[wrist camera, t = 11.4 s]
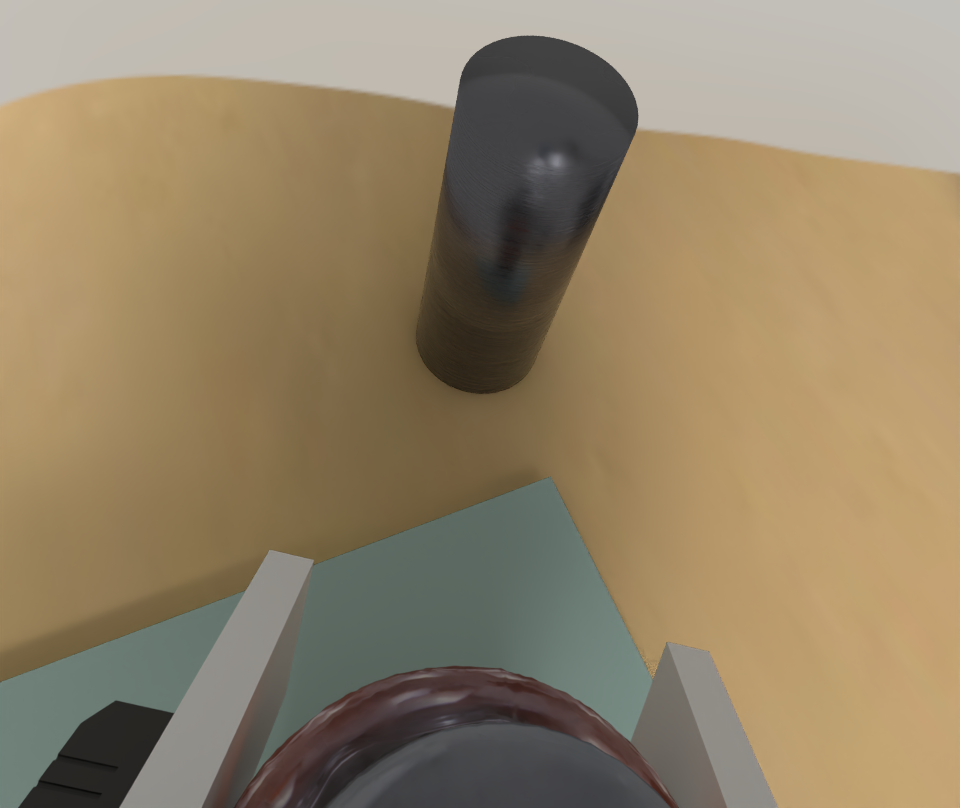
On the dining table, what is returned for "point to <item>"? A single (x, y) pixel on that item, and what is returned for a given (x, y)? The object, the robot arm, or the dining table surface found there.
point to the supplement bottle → (457, 749)
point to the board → (372, 632)
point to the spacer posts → (518, 203)
